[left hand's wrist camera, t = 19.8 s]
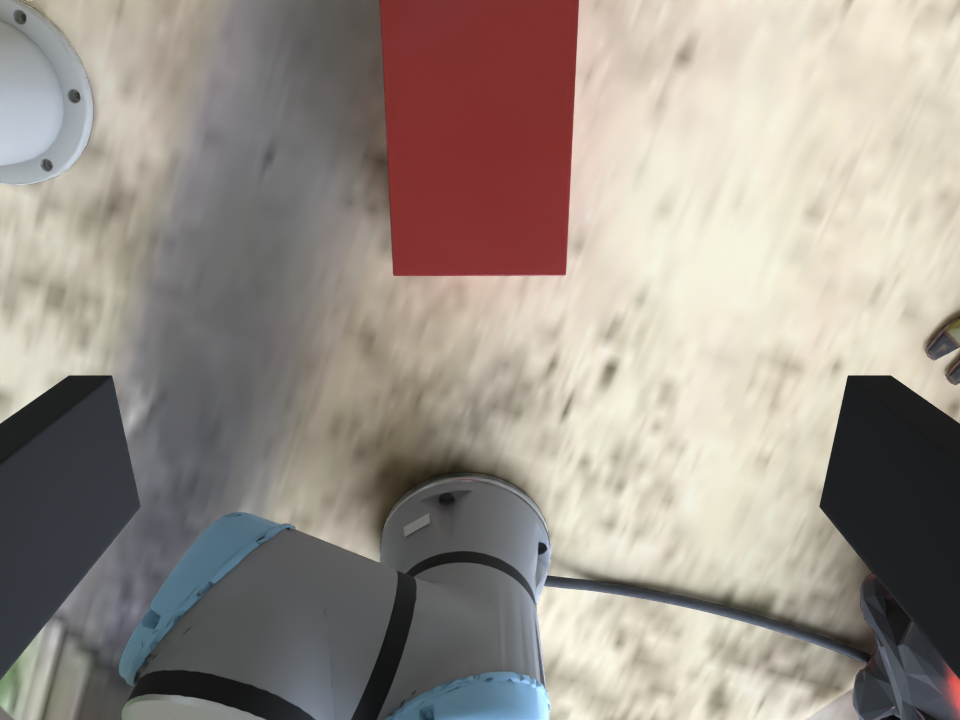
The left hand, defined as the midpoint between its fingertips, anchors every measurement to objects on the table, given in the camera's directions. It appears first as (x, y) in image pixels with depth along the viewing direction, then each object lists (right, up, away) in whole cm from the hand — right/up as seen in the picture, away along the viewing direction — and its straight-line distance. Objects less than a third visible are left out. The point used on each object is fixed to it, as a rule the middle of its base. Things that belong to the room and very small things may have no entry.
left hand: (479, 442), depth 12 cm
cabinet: (0, +19, +36) cm, 41 cm away
